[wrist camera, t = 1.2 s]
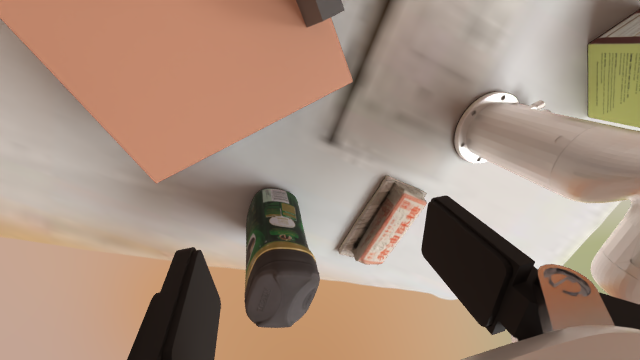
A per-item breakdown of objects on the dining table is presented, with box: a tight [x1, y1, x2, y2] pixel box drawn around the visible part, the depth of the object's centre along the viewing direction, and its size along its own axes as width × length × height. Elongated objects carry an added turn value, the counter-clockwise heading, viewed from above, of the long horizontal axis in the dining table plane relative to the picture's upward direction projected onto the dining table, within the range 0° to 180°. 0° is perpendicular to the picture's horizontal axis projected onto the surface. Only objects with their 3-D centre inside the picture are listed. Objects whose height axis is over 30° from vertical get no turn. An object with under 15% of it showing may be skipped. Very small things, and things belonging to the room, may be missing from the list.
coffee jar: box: [245, 189, 320, 328], centre depth 35 cm, size 10×8×19 cm
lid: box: [0, 0, 353, 183], centre depth 19 cm, size 22×18×7 cm
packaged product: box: [339, 176, 427, 265], centre depth 48 cm, size 18×5×10 cm
